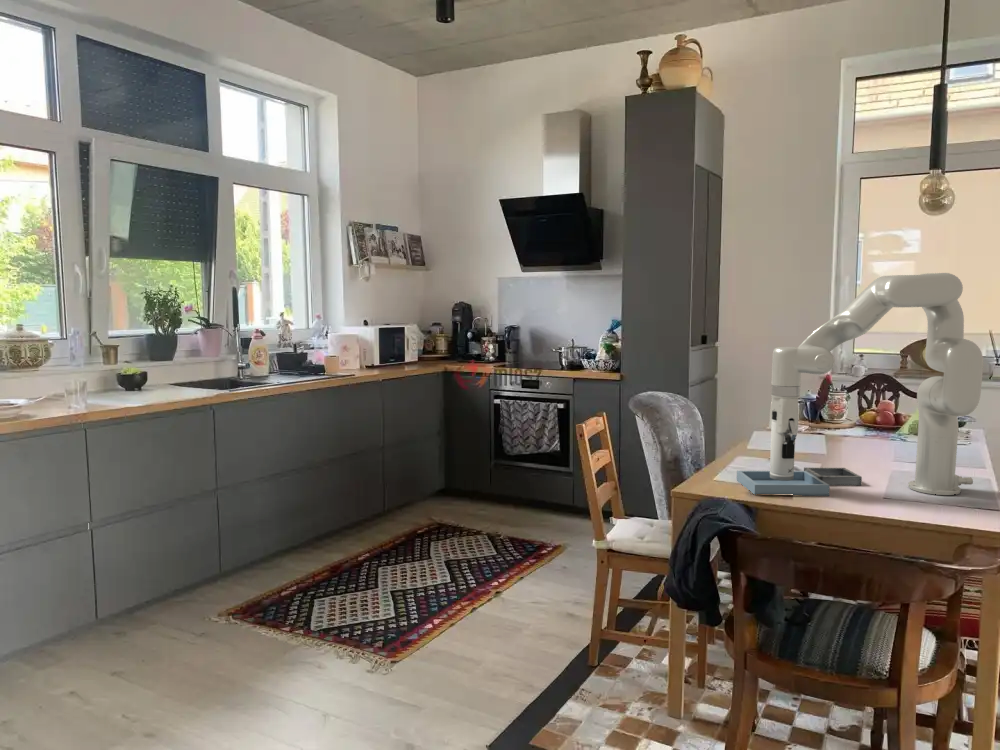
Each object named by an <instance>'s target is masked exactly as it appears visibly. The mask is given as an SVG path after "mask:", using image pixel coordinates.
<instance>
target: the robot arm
mask: <svg viewBox="0 0 1000 750" xmlns="http://www.w3.org/2000/svg"><path fill="white" fill-rule="evenodd" d="M963 289H964V287H963V282H962V281H961V279H960V278H959V277H958V276H957V275H955V274H953V273H950V272H937V273H936V272H935V273H933V272H932V273H929V272H928V273H921V274H895V275H893V274H891V275H883V276H879V277H877V278H876V279H874V280H873V281H872V282H871V283H869V284H868V285H867V287H865V288H864V289H863V290H862V291H861V292H860V293H859V294H858V295H857V296H856V297H855V298H854V299H853V300H852V301H851V302H850V303H849V304H848V305H847V306H846V307H845V308H843V310H842V311H841V312H840V313H838V314H836V315H835V316H833V317H832V318H830V319H829V320H828V321H826V322H825V323H824V324H822V325H821V326H819V327H818V328H816V329H815V330H814V331H813V332H812V333H811V334H809V335H808V336H807V338H805V339H804V340H803V342H802V343H800V345H798V346H797V347H794V346H778V347H775V348H774V349H773V351H772V360H771V363H772V365H771V386H770V388H771V389H770V397H771V402H770V407H769V408H770V409H769V420H768V427H769V429H770V430H771V426H772V411H773V412H774V411H776V412H777V417H776V418H777V422H776V423H777V425H776V432H777V433H779V434H782V433H783V441H784V444H782V458H783V459H793V458H794V459H795V455H794V448H795V449H796V439H797V436H798V431H799V430H798V429H799V399H800V398H801V384H802V383H801V382H802V374H809V375H819V376H820V375H825V374H827V373H829V372H830V371H832V369H833V368H834V367H835V363H836V361H835V360H836V359H835V355H834V354H833V353H832V351H833V350H834V349H836V348H837V347H839V346H840V345H842V344H844V343H846V342H848V341H851V340H855V339H857V338H859V337H862V336H863V335H865V334H867V333H868V332H869V330H871V329H872V328H873V327H874V326H875V325H876V324H877V323H878V322H880V320H881V319H883V317H884V316H885V315H887V314H888V312H889V311H890V310H891V309H893V308H922V309H923V311H924V313H925V316H926V319H927V321H926V322H927V329H926V330H927V331H926V332H927V335H926V344H925V356H924V357H925V358H924V359H925V363H926V364H927V366H928V367H929V368H930V369H932V370H934V371H937V372H940V373H943V375H942V376H939V375H936V376H931V377H928V378H926V379H924V380H923V381H922V382H921V383H920V384H919V386H918V388H917V392H916V401H917V402H916V403H917V409H918V429H917V440H916V441H917V443H916V460H915V475H914V476H915V477H914V480H911V481H909V482H908V484H907V486H908V488H909V489H910V488H911V490H912V491H915V492H919V493H924V494H928V495H935V494H936V495H937V496H955V495H954V494H956V495H959V494H961V493H960V492H962V491H961V490H962V489H961V488H960V486H962V485H970V486H971V485H973V484H974V483H973V482H974V481H973V480H974V479H973V478H972V477H962V475H960V476H959V475H957V474H956V467H957V456H958V455H957V453H958V452H957V451H958V450H957V449H958V441H959V440H958V439H959V419H958V417H966V416H969V415H970V414H972V413H973V412H974V411H975V410H976V409H977V407H978V406H979V403H980V399H981V393H982V381H983V371H984V356H983V352H982V350H981V348H980V347H979V345H978V344H976V342H974V341H972V340H969V339H966V338H965V337H964V336H965V335H964V331H965V330H964V329H965V327H964V326H965V325H964V323H965V318H964V317H965V316H964V312H963V308H962V305H961V303H960V302H959V299H960V298H961V296H962V293H963V291H964V290H963ZM786 430H790V433H785V432H786ZM786 435H789V436H788V438H787V437H786Z"/></svg>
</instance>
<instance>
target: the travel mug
mask: <svg viewBox="0 0 1000 750" xmlns="http://www.w3.org/2000/svg"><path fill="white" fill-rule="evenodd" d="M776 417H777V412H776V411H774V412H773V411H772V426H771V429H770V454H769V455H770V456H769V457H770V458H769V459H770V460H769V471H770V478H771V479H774V480H779V481H790V480H793V479H794V474H793V473H794V471H795V457H794V458H793V459H783V458H782V444H784V441H783V433H782V434H779V433H777V432H776V425H777V423H776V422H777V418H776ZM785 433H790V430H786V432H785ZM788 436H789V435H786V437H787V438H788ZM795 450H796V447H795V448H794V456H795V453H796V451H795Z"/></svg>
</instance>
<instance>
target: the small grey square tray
mask: <svg viewBox="0 0 1000 750" xmlns="http://www.w3.org/2000/svg"><path fill="white" fill-rule="evenodd" d="M803 471H807V472H808V473H810V474H812V475H813V476H815V477H817V478H819V479H820V480H822V481H824V482H825V483H827V484H829V485H830V486H862V480H863V479H862V476H861V475H859V474H857V473H855V472H853V471H851V470H850V469H848V468H846V467H803Z"/></svg>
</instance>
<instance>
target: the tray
mask: <svg viewBox="0 0 1000 750" xmlns="http://www.w3.org/2000/svg"><path fill="white" fill-rule="evenodd" d="M793 474H794V479H793V480H790V481H779V480H774V479H771V478H770V470H736V480H737V481H738V482H737V481H736V482H737V483H739V484H740V483H741V484H742V485H743V486H744V487H743V486H742V485H741V484H740V485H741V486H742V487H743V488H745V487H746V488H747V489H748V490H750V491H751V492H752V493H753V494H755V495H756V494H793V495H802V496H801V497H830V487H831V485H829V484H827V483H825V482H824V481H822V480H820V479H819V478H817V477H815V476H813V475H812V474H810V473H808V472H807V471H804V470H794V473H793ZM746 488H745V489H746ZM747 489H746V490H747ZM748 490H747V491H748ZM750 491H749V492H750ZM751 492H750V493H751ZM752 493H751V494H752ZM753 494H752V495H753Z"/></svg>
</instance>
